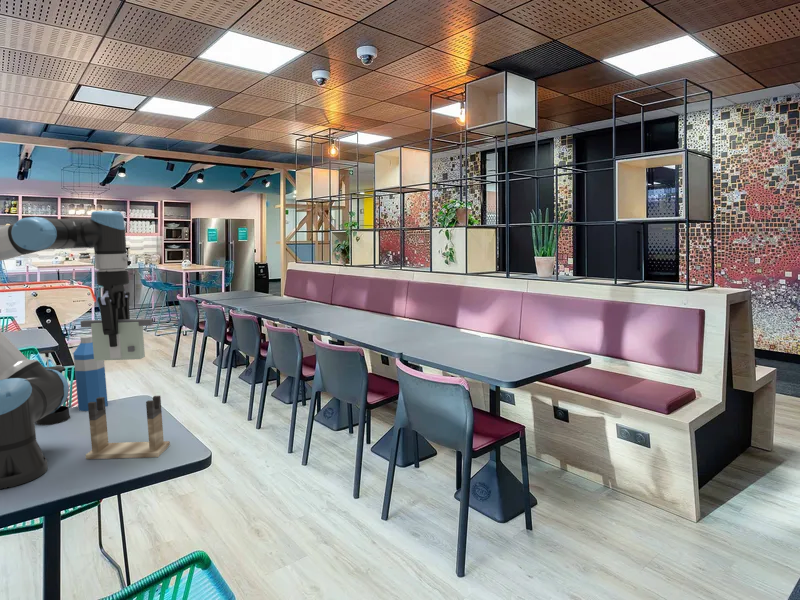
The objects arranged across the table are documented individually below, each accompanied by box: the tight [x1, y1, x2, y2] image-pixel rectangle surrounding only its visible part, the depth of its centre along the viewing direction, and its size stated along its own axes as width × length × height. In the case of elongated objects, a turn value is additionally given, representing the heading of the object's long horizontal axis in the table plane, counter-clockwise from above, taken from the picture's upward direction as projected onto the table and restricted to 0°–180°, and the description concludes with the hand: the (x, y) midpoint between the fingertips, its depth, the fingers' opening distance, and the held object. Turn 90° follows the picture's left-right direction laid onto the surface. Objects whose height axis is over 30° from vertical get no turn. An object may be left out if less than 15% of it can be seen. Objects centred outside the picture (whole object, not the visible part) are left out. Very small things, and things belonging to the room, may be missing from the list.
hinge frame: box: [84, 395, 171, 460], centre depth 144 cm, size 19×8×15 cm, turn 92°
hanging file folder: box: [80, 318, 154, 361], centre depth 142 cm, size 18×4×11 cm, turn 94°
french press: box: [35, 349, 71, 426], centre depth 170 cm, size 12×9×23 cm
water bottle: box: [72, 335, 109, 412], centre depth 183 cm, size 9×9×25 cm
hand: (119, 356), depth 143 cm, fingers closed on hanging file folder, 3 cm apart
